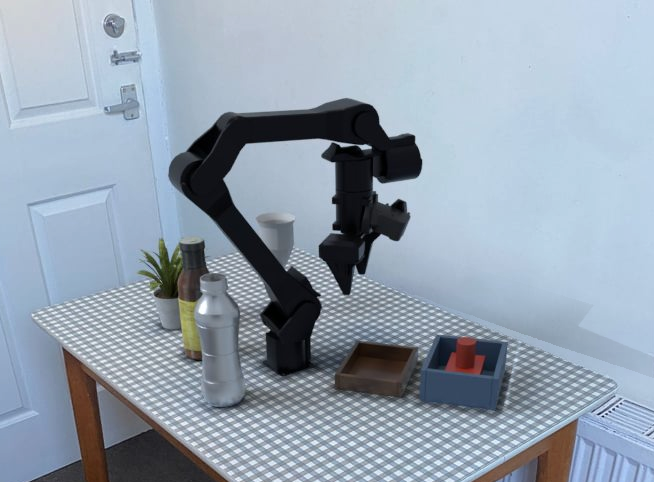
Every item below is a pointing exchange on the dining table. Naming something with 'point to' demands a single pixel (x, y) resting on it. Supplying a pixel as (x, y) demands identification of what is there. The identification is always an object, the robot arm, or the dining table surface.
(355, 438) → the dining table surface
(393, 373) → the brown wooden tray
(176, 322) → the house plant
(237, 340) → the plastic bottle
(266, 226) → the chalice
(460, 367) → the brush
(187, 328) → the sauce bottle
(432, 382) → the tote
